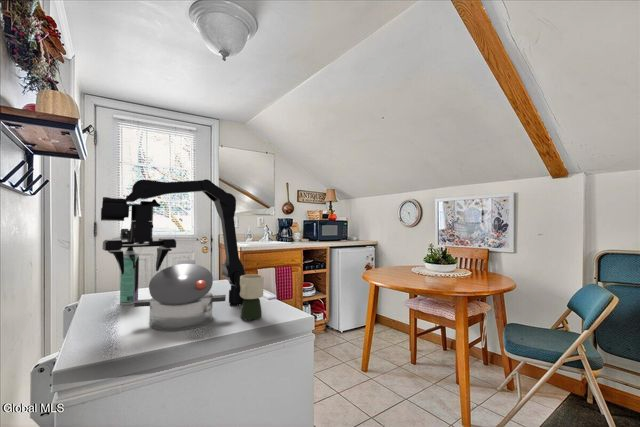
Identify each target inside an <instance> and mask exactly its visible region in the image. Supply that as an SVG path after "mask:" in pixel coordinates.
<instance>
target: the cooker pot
mask: <svg viewBox="0 0 640 427" xmlns="http://www.w3.org/2000/svg"><path fill="white" fill-rule="evenodd" d="M226 298H227V297H226V294H219V295H213V293H212V292H210V291H209V292H208V293H207V294H206V295H205V296H203V297H202V298H200V299H198V300H196V301H194V302H191V303H187V304H182V305H167V304H163V303H160V302H158V301H156V300H155V299H153V298H152V297H151V298H150V299H149V298H148V299H138V300H137V301H136V302H135V303H134V304H133V305H134V306H133V307H134V308H139V307H140V308H141V307H149V318H148V319H149V323H148V324H149V325H148V326H149V328H150V329H152V330H153V331H158V332H159V331H160V332H180V331H187V330H192V329H196V328H199V327H202V326H204V325H206V324H207V325H208V324H209V323H210V322H211V321H212V319H213V303H217V302H218V303H219V302H226Z"/></svg>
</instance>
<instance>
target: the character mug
mask: <svg viewBox="0 0 640 427" xmlns="http://www.w3.org/2000/svg"><path fill="white" fill-rule="evenodd" d="M264 281H265V280H264V275H262V274H255V273H251V274H250V273H249V274H245V275H242V276H240V288H241V291H240V296H241V297H242V298H244V301H243V304H242V305H241V312H240V319H242V320H248V321H249V320H257V319H260V318H262V315H263V314H262V306H261V305H262V304H261V300H260V298H262V297H263V296H264Z"/></svg>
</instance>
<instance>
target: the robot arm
mask: <svg viewBox="0 0 640 427" xmlns="http://www.w3.org/2000/svg"><path fill="white" fill-rule="evenodd" d="M198 192H201V193H203V194H204V195H206V196H207V197H208V199H209V200H211V201H212V202H213V203H214V206H215V209H216V212H217V214H218V216H219V219H220V222H221V230H222V231H221V232H222V236H223V237H222V238H223V245H224V252H225V253H224V254H225V261H224V263H221V264H220V266H221V267H220V268H221V275H222V276H224V279H225V280H227V281H228V283H229V285H230V289H229V290H228V303H229V305H230V306H231V307H232V306H242V304H243V301H244V298H242V297H241V296H240V291H241V288H240V276H242V275H246V271H245V268H244V265H243V263H242V261H241V259H240V257H239V250H238V249H239V247H238V239H237V232H236V226H235V216H236V215H235V214H236V211H237V210H236V208H237V199H236V197H235V195H233V194H232V193H229V192H226V191H225V189H223V188H221V187H220V186H218V185H216V184H215V183H213V182H212V181H211V180H210V179H205V178H204V179H201V180H185V181H160V180H159V181H158V180H153V179H139V180H137V181H135V182H134V184H133V185H132V188H131V192H130V194H129V195H126V196H125V198H118V197H117V198H116V197H114V198H113V197H109V196H103V197H102V202H101V203H102V205H101V206H102V207H101V208H100V220H101V221H103V222H104V221H105V222H106V221H108V222H124V221H125V219H126V218H127V219H128V218H129V216H130V215H131V216H130V218H131V219H130V229H128V228H121V229H120V234H119V236H120V237H119V238H120V239H119V238H118V239H105V240H103V241H102V250H104V251H106V252H107V253H109V254H111V255H112V256H114V258H115V260H116V262H117V264H118V268H119V270H120V275H121V274H124V256H123V253H124V251H123V250H122V249H123V248H124V249H127V248H128V247H133V248H149V247H157V248H156V253H157V255H156V263H155V272H158V271H159V270H160V268H161V265H162V264H163V262H164V259H165V258H166V256H167V255H168V253H169V252H170V251H171V252H172V251H173V249H176V248H177V240H176V239H175V238H171V237H167V238H165V237H164V238H163V237H161V238H158V240H153V239H154V238H153V231H154V230H153V229H154V223H153V222H154V208H159V207H161V204H160V203H158V201H157V200H156V199H152V198H156V197H160V196H165V195H170V194H172V195H173V194H186V193H198ZM148 199H152V201H148ZM138 200H140V202H139V204H137V203H134V202H136V201H138ZM130 207H131V210H130ZM130 211H131V212H130ZM130 213H131V214H130Z"/></svg>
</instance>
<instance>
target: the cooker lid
mask: <svg viewBox="0 0 640 427" xmlns="http://www.w3.org/2000/svg"><path fill="white" fill-rule="evenodd" d="M213 281H214V280H213V275H212V273H211V271H210V269H208V268H206V267H205V266H202V265H201V264H200V265H199V264H196V260H194V259H191V260H190V259H188V260H186V259H185V260H183V259H182V260H177V264H175V265H171V266H168V267H166V268H162V270H160V271H159V272H158V271H157V273H156V274H155V275H154V276H152V278H151V279H150V281H149V283H148V291H149V295H150V297H151V298H153V299H155V300H156V301H158V302H160V303H163V304H167V305H182V304H187V303H191V302H194V301H196V300H198V299H200V298H202V297H203V296H205V295H206V294H207V293H208V292H210V290H211V289H212V288H213V287H212V286H213V284H214V283H213Z"/></svg>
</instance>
